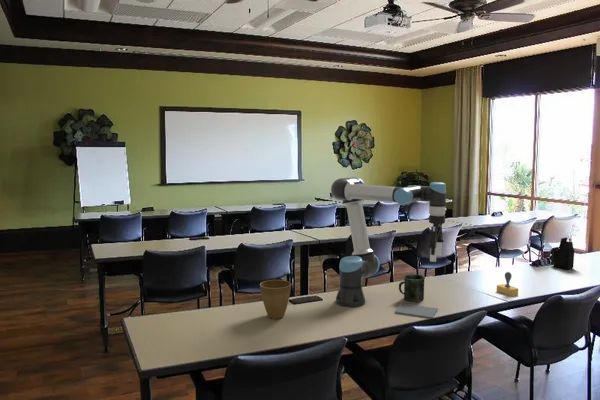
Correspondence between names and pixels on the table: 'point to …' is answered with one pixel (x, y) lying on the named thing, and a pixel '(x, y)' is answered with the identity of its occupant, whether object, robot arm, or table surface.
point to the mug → (413, 287)
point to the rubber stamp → (507, 286)
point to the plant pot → (275, 297)
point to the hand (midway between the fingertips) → (435, 258)
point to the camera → (563, 255)
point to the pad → (416, 310)
